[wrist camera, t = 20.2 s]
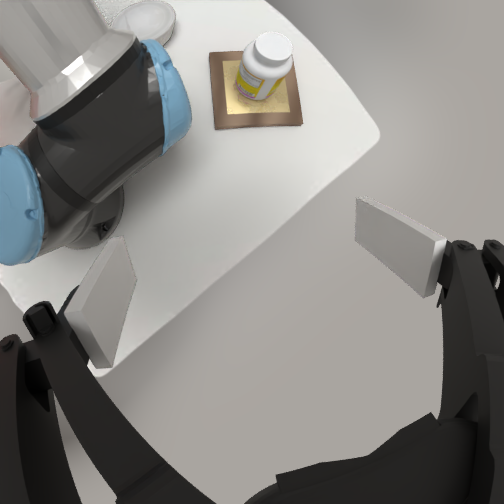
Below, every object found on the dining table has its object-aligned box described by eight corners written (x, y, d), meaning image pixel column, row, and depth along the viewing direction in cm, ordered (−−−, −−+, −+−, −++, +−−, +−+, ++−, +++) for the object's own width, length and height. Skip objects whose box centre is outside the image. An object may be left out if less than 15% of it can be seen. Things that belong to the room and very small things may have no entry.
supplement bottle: (273, 67, 38) (297, 28, 26) (277, 101, 39) (305, 69, 27) (233, 66, 37) (245, 24, 25) (235, 101, 38) (249, 66, 26)
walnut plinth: (215, 129, 40) (215, 127, 39) (209, 56, 37) (209, 52, 36) (300, 125, 42) (303, 123, 41) (289, 56, 39) (291, 52, 38)
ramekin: (104, 47, 33) (96, 33, 28) (145, 8, 33) (142, -8, 28) (147, 69, 36) (141, 55, 31) (189, 27, 35) (189, 11, 30)
